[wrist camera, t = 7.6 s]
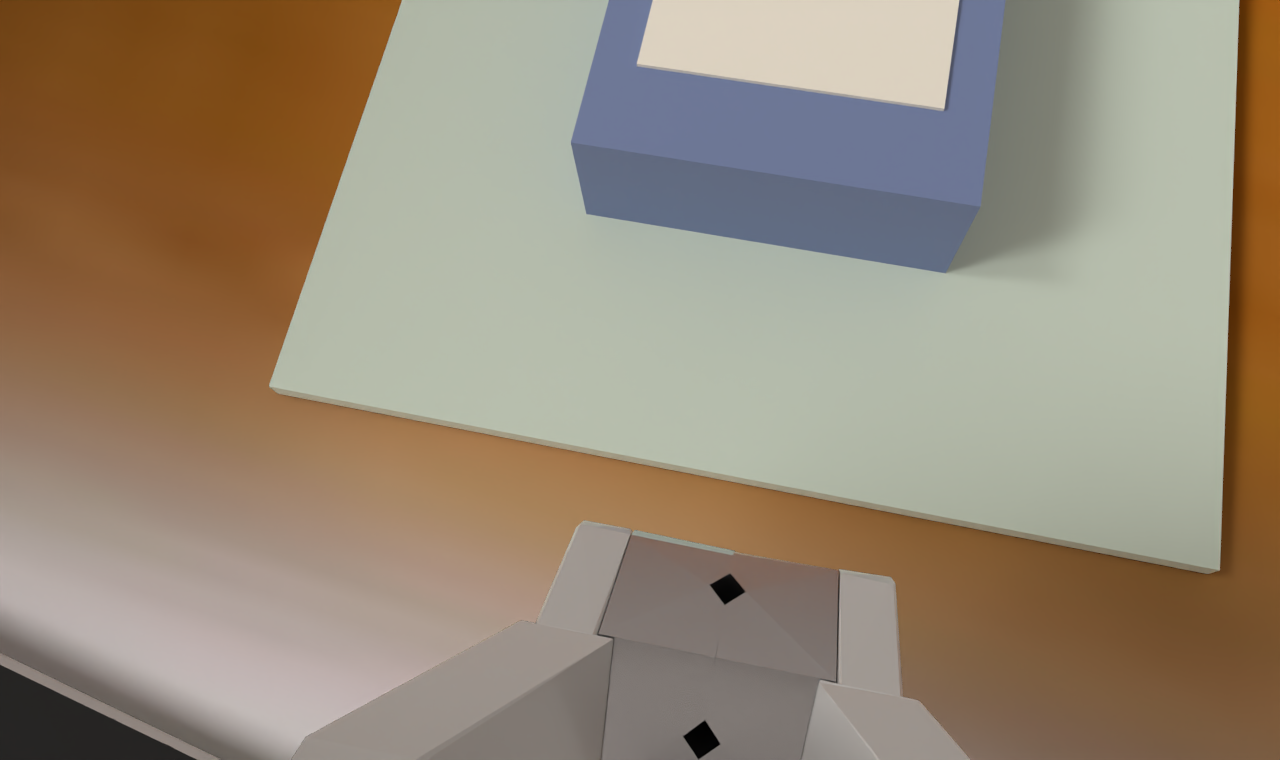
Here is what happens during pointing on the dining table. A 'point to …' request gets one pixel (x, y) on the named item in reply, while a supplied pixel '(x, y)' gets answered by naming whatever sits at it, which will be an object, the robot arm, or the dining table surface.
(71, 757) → the smartphone
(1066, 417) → the mat
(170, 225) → the dining table surface
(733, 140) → the box
